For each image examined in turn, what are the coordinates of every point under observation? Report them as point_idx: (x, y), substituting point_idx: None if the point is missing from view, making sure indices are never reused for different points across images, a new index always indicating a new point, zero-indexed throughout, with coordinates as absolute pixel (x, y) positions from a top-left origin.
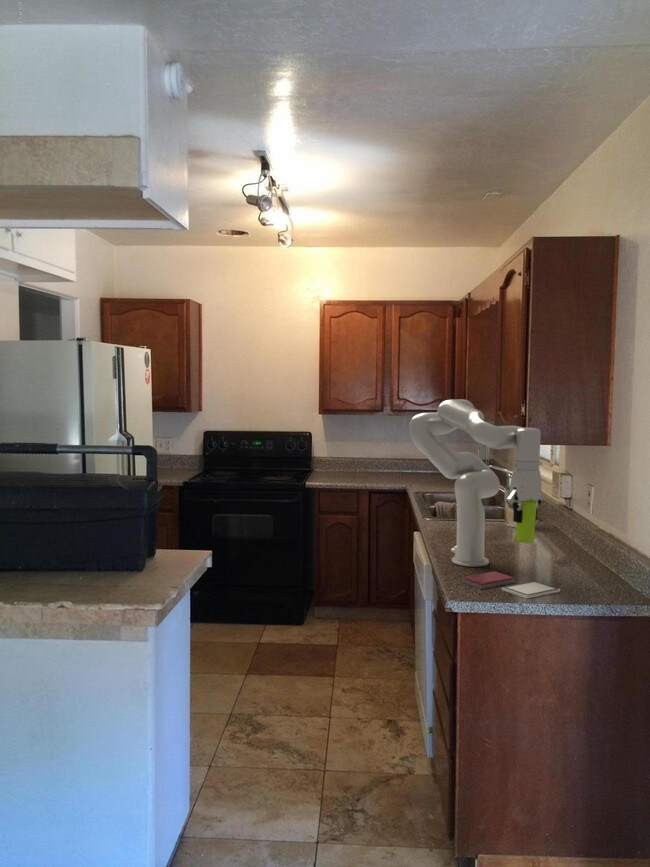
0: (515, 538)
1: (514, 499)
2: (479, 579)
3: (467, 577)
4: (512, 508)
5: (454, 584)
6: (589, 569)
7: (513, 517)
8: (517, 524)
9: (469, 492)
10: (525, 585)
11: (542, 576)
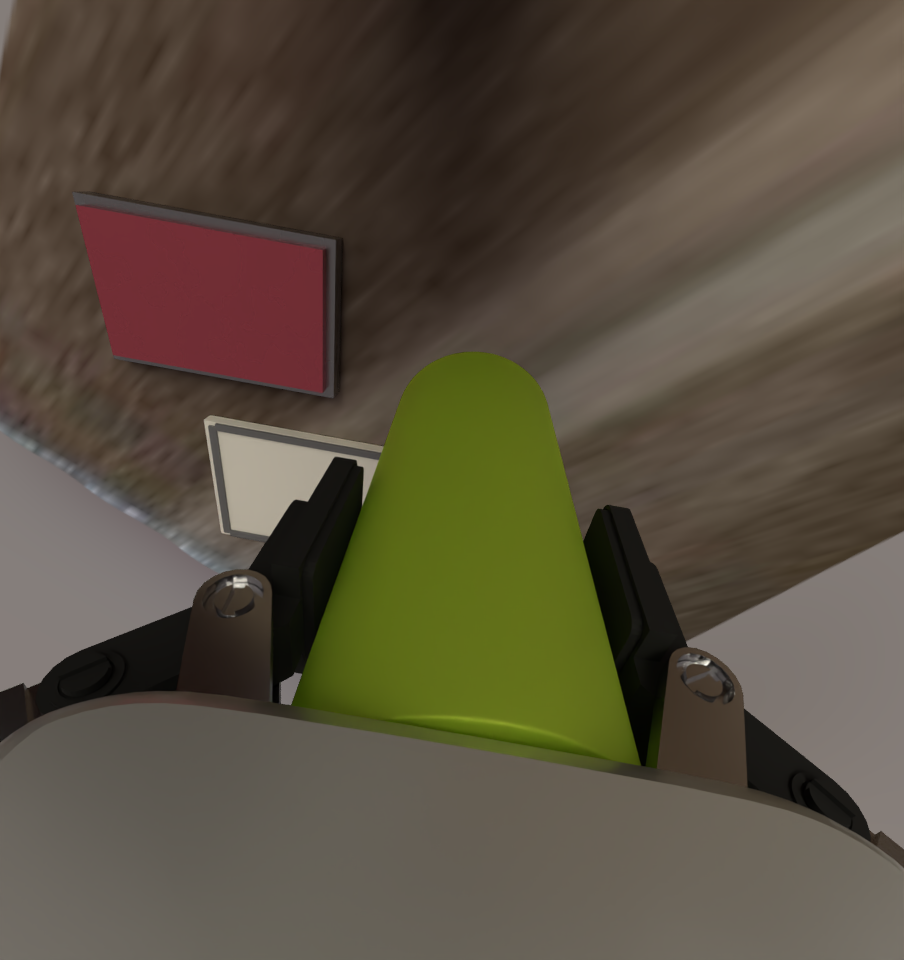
0: (409, 386)
1: (228, 720)
2: (135, 307)
3: (89, 232)
4: (211, 585)
5: (31, 196)
6: (845, 486)
7: (321, 481)
8: (373, 476)
9: None
10: (317, 466)
11: None
